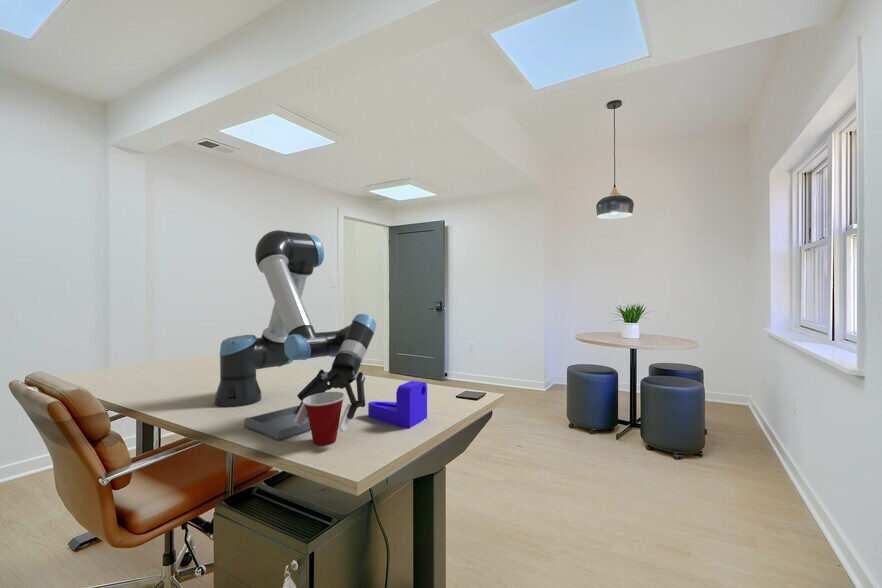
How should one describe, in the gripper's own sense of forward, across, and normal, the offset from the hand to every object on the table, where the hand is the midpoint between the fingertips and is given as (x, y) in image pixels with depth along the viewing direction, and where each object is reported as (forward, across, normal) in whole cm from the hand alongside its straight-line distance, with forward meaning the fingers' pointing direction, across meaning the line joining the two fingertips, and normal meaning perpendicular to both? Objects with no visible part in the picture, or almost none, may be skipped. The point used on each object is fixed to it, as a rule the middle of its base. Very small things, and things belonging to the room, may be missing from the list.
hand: (318, 427), depth 105 cm
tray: (-4, +17, -11) cm, 21 cm away
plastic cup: (+2, 0, -5) cm, 5 cm away
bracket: (-15, -9, -22) cm, 28 cm away
